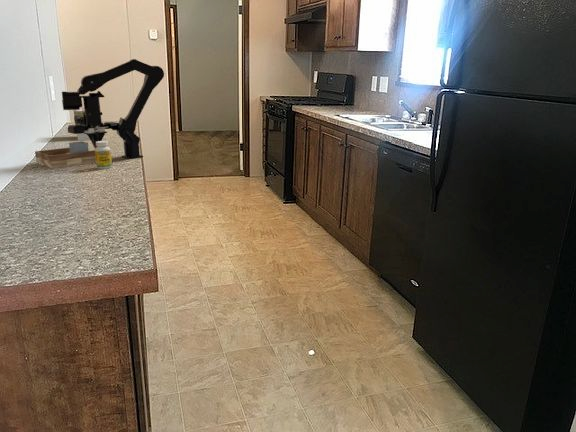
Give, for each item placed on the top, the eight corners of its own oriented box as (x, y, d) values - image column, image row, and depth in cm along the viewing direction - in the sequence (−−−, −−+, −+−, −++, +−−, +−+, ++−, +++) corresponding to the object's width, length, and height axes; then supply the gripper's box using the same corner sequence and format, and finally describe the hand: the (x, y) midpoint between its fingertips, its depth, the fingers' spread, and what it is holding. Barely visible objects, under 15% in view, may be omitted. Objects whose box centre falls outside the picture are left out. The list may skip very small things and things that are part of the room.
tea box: (76, 136, 246) (72, 107, 242) (97, 135, 250) (93, 107, 246) (77, 140, 233) (73, 110, 229) (99, 139, 237) (95, 109, 233)
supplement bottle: (110, 165, 177) (107, 140, 174) (113, 168, 173) (111, 142, 170) (95, 167, 174) (92, 141, 172) (98, 169, 170) (95, 143, 167)
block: (89, 155, 182) (87, 142, 181) (76, 157, 178) (74, 144, 177) (83, 154, 185) (81, 141, 184) (70, 155, 182) (68, 142, 180)
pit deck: (104, 161, 185) (103, 149, 184) (52, 168, 171) (50, 156, 170) (87, 156, 194) (86, 145, 193) (36, 163, 180) (34, 151, 178)
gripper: (104, 106, 193) (108, 144, 198) (58, 109, 180) (64, 149, 185) (118, 108, 186) (122, 147, 191) (72, 111, 173) (77, 153, 178)
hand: (96, 149), depth 186 cm, fingers closed
